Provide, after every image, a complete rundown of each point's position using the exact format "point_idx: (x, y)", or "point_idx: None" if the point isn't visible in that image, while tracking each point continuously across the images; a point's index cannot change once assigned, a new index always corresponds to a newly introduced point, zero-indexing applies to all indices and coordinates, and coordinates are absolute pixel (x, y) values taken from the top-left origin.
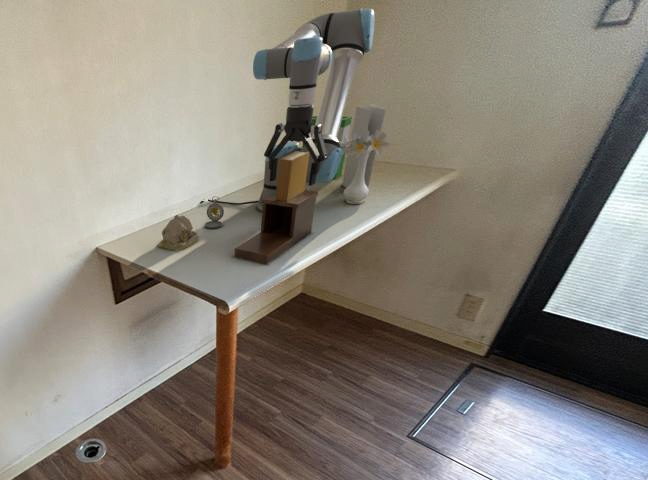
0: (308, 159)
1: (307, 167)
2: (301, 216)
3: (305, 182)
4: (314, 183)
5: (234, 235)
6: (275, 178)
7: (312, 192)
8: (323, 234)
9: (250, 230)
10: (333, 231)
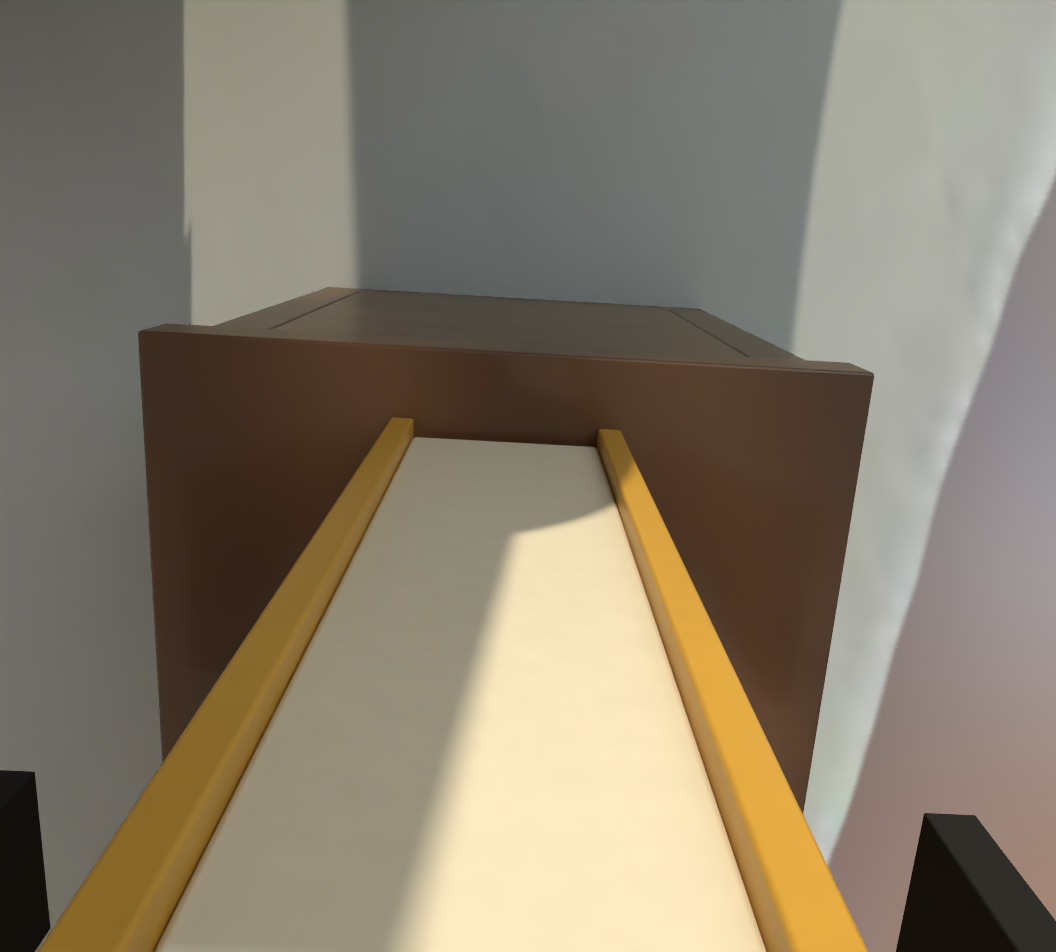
0: (763, 750)
1: (702, 609)
2: None
3: (641, 477)
4: (974, 832)
5: (35, 672)
6: (25, 809)
7: (788, 456)
8: (832, 282)
9: (90, 491)
10: (908, 149)
